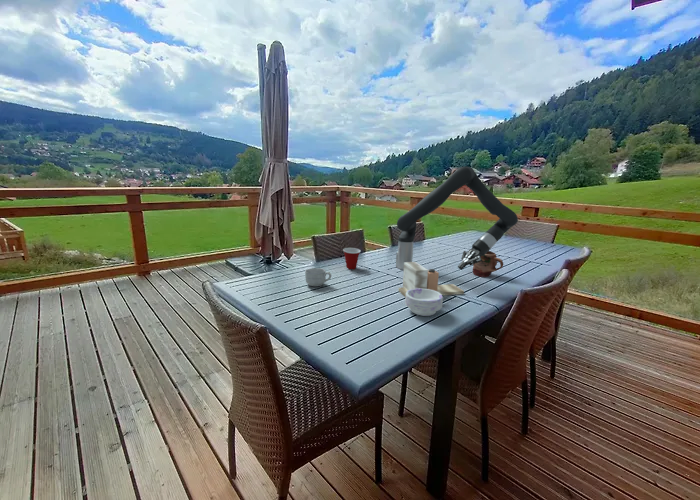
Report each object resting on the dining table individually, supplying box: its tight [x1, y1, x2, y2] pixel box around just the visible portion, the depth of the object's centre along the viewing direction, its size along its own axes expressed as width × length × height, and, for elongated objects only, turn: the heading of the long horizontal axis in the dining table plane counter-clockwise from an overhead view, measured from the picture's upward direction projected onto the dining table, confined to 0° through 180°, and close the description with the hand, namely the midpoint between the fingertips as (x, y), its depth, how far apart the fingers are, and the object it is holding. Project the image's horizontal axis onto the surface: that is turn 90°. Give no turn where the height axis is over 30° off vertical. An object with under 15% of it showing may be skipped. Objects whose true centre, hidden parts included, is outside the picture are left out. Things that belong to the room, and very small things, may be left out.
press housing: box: [398, 261, 465, 298], centre depth 146 cm, size 30×14×14 cm, turn 102°
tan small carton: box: [427, 268, 440, 291], centre depth 146 cm, size 5×5×10 cm
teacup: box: [304, 267, 332, 287], centre depth 154 cm, size 14×11×8 cm
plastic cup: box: [342, 247, 361, 270], centre depth 183 cm, size 11×11×12 cm
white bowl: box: [404, 288, 444, 317], centre depth 125 cm, size 15×15×8 cm
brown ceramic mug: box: [472, 250, 504, 278], centre depth 172 cm, size 20×12×14 cm, turn 40°
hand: (459, 268), depth 149 cm, fingers closed
